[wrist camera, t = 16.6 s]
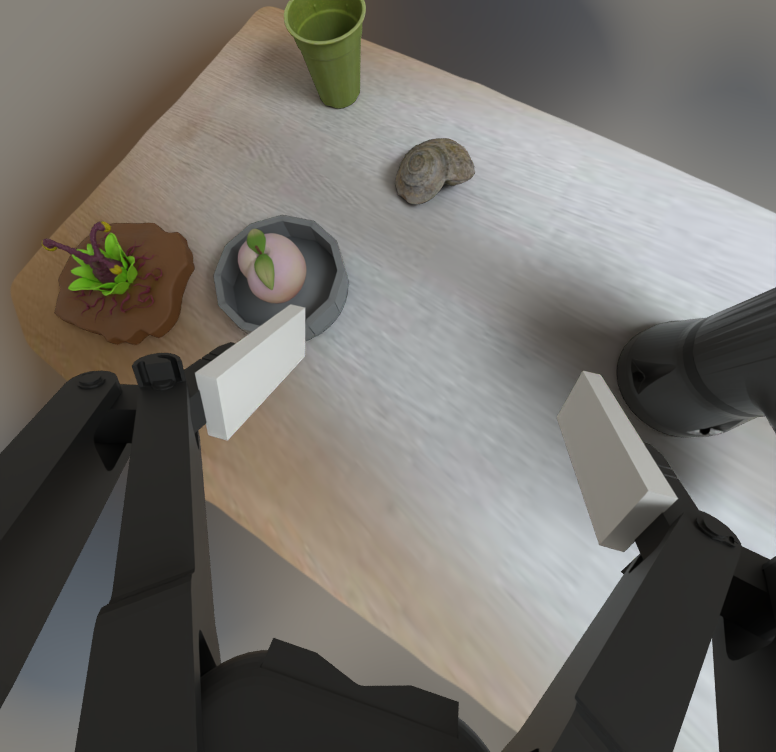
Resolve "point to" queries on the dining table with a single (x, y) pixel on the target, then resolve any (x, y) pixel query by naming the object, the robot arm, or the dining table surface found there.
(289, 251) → the decorative fruit
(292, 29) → the plant pot
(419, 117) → the dining table surface
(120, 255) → the sprouting soil patch
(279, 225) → the bowl
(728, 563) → the robot arm
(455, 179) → the fossilized seashell
